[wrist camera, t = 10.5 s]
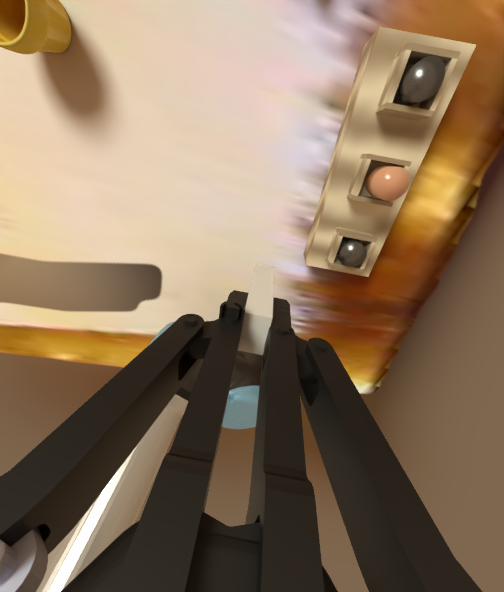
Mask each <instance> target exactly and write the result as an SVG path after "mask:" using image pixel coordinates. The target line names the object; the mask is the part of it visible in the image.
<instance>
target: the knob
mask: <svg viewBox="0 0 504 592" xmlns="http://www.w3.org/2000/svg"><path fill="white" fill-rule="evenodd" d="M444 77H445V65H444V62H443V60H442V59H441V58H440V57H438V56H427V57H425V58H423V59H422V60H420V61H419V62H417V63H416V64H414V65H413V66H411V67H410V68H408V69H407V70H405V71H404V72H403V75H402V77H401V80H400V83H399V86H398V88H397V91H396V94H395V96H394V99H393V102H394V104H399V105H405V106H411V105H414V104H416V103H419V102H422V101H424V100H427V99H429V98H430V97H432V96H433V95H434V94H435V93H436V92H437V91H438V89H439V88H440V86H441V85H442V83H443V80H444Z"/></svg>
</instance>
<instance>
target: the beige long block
mask: <svg viewBox="0 0 504 592" xmlns="http://www.w3.org/2000/svg"><path fill="white" fill-rule="evenodd" d="M475 46H476V45H475V44H469V43H464V42H459V41H453V40H448V39H443V38H437V37H432V36H426V35H421V34H416V33H410V32H405V31H400V30H394V29H389V28H384V27H379V28H378V29H377V30H376V32H375V33H374V34H373V36H372V37H371V38H370V39H369V41H368V42H367V43H366V45H365V46H364V49H363V52H362V56H361V59H360V63H359V66H358V69H357V73H356V76H355V80H354V83H353V87H352V90H351V93H350V97H349V100H348V104H347V107H346V111H345V114H344V118H343V121H342V124H341V128H340V131H339V135H338V138H337V142H336V145H335V149H334V152H333V155H332V159H331V162H330V166H329V169H328V173H327V176H326V179H325V183H324V186H323V190H322V193H321V197H320V200H319V204H318V207H317V210H316V214H315V217H314V221H313V224H312V228H311V231H310V234H309V238H308V241H307V245H306V248H305V252H304V257H305V261H306V265H308V266H313V267H318V268H324V269H329V270H334V271H340V272H345V273H350V274H355V275H361V276H366V277H368V276H369V274H370V272H371V270H372V268H373V266H374V263H375V261H376V259H377V257H378V255H379V253H380V251H381V248H382V246H383V244H384V242H385V240H386V238H387V235H388V233H389V231H390V229H391V227H392V225H393V223H394V220H395V218H396V216H397V214H398V212H399V210H400V208H401V205H402V203H403V201H404V199H405V197H406V195H407V193H408V190H409V188H410V186H411V184H412V182H413V180H414V177H415V175H416V173H417V171H418V169H419V167H420V165H421V162H422V160H423V158H424V156H425V154H426V152H427V150H428V147H429V145H430V143H431V141H432V139H433V137H434V135H435V132H436V130H437V128H438V126H439V124H440V122H441V119H442V117H443V115H444V113H445V111H446V109H447V107H448V104H449V102H450V100H451V98H452V96H453V94H454V92H455V89H456V87H457V85H458V83H459V81H460V79H461V77H462V74H463V72H464V70H465V68H466V66H467V64H468V61H469V59H470V57H471V55H472V53H473V51H474V49H475ZM427 56H438V57H440V58H441V59H442V60H443V62H444V65H445V77H444V80H443V83H442V85H441V86H440V88H439V89H438V91H437V92H436V93H435V94H434V95H433V96H432V97H430V98H429V99H427V100H424V101H422V102H419V103H416V104H414V105H411V106H405V105H399V104H394V102H393V99H394V96H395V94H396V91H397V88H398V86H399V83H400V80H401V77H402V75H403V72H404V71H405V70H407V69H408V68H410V67H411V66H413V65H414V64H416V63H417V62H419V61H420V60H422V59H423V58H425V57H427ZM379 166H394V167H402V168H404V169H406V170H407V172H408V173H409V176H410V183H409V186H408V188H407V190H406V192H405V193H404V194H403V195H402V196H401V197H399V198H398V199H396V200H393V201H385V200H382V199H380V198H377V197H375V196H372V195H370V194H369V193H368V192H367V190H366V179H367V177H368V175H369V174H370V173H371V171H372V170H374V169H375V168H377V167H379ZM343 237H348V238H354V239H358V240H359V241H360V242H361V244H362V245H363V246H364V247H365V248H366V250H367V256H366V258H365V260H364V261H363V262H362V263H361V264H359V265H357V266H353V267H351V266H347V265H345V264H344V263H343V262H342V260H341V258H340V257H339V255H338V253H337V252H338V249H339V246H340V243H341V241H342V238H343Z"/></svg>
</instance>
